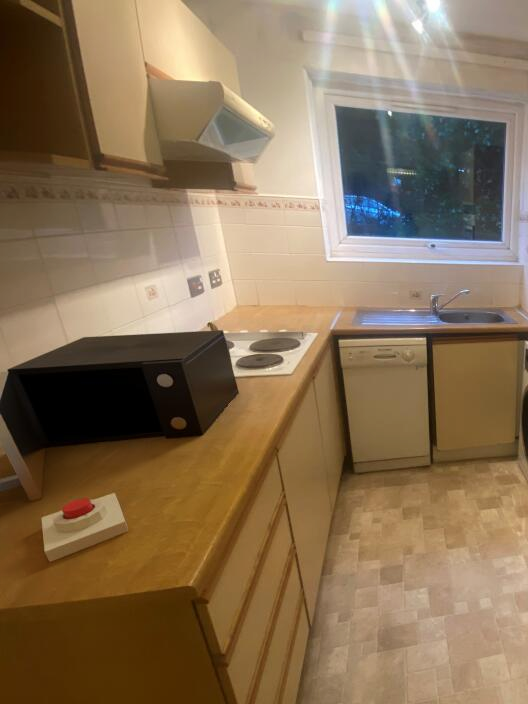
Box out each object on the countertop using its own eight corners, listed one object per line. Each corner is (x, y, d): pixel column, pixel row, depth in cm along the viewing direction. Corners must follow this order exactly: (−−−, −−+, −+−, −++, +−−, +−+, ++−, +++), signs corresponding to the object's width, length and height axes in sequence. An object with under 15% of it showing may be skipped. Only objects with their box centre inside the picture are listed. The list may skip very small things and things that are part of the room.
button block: (46, 527, 78) (36, 509, 76) (118, 501, 84) (111, 484, 83) (49, 562, 70) (39, 543, 69) (129, 531, 77) (121, 513, 75)
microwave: (201, 437, 108) (179, 361, 100) (36, 453, 100) (-3, 373, 93) (239, 393, 133) (223, 330, 126) (109, 403, 126) (83, 337, 118)
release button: (64, 513, 76) (60, 504, 75) (92, 503, 78) (88, 495, 78) (66, 522, 73) (62, 514, 73) (94, 512, 76) (91, 504, 75)
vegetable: (236, 377, 145) (221, 319, 138) (237, 381, 142) (222, 321, 135) (220, 379, 143) (205, 320, 136) (221, 384, 140) (205, 323, 132)
